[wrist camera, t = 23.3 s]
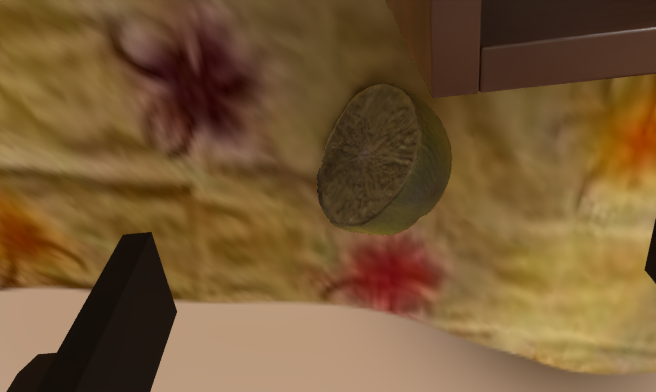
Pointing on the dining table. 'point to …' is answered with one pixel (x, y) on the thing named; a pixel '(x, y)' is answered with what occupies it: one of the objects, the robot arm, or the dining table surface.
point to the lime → (383, 162)
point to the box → (525, 42)
